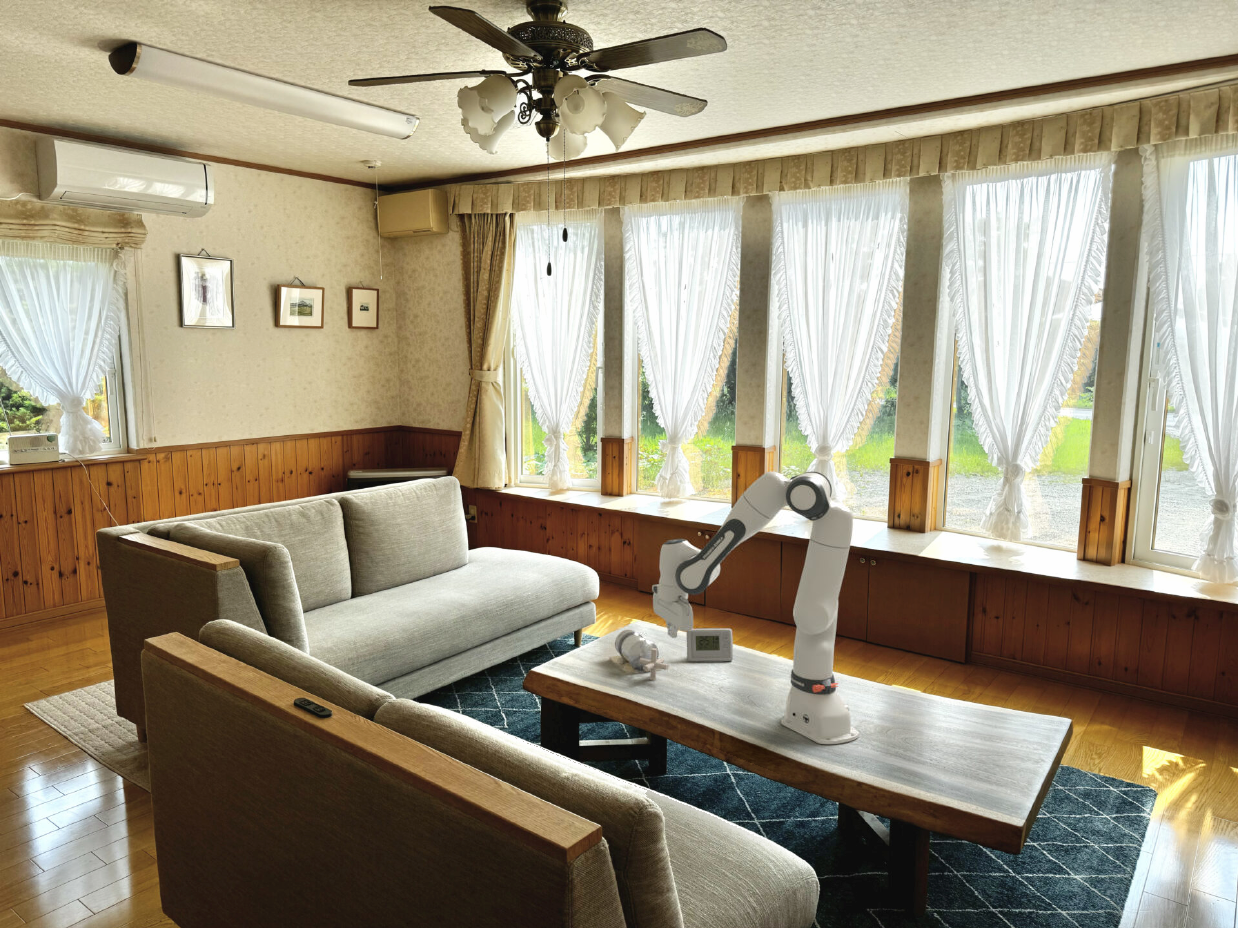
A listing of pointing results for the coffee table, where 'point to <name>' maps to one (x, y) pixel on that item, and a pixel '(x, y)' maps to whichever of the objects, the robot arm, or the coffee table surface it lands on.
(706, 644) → the digital clock
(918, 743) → the coffee table surface
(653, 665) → the pipe connector
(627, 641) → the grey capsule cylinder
